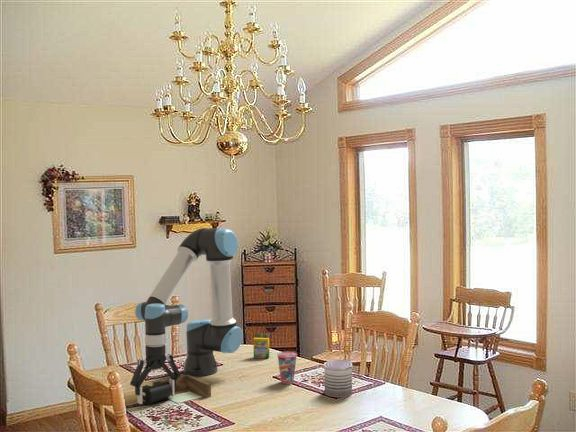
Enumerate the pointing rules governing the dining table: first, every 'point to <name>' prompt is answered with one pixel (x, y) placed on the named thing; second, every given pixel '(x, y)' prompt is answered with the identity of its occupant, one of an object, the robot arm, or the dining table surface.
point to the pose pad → (184, 397)
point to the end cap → (156, 392)
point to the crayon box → (261, 346)
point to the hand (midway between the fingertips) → (156, 399)
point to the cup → (287, 366)
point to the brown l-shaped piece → (191, 384)
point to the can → (338, 378)
